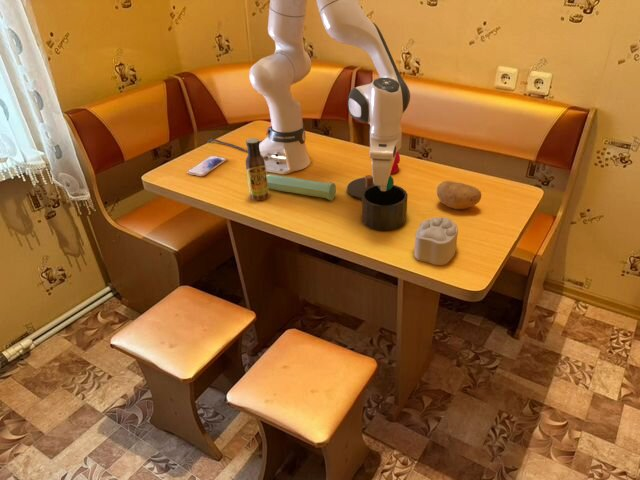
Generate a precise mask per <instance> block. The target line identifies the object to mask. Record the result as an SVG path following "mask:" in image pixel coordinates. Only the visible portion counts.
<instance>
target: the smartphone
mask: <svg viewBox="0 0 640 480" xmlns="http://www.w3.org/2000/svg"><path fill="white" fill-rule="evenodd" d="M226 161H227V158H226V157H222V156H217V155H214V154H213V155H210V156H208V157H207V158H205V159H204V160H202V161H200V163H198V164H196V165H194V166H193V167H192V168H190V169H189V170H187V174H188V175H191V176H197V177H205V176H206V175H208V174H209V173H210V172H212V171H214V170H215V169H216V168H218V167H219V166H220V165H222V164H223V163H225V162H226Z"/></svg>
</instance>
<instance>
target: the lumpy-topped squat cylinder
mask: <svg viewBox="0 0 640 480" xmlns="http://www.w3.org/2000/svg"><path fill="white" fill-rule="evenodd" d="M458 235H459V229H458V226H457V224H456V223H455V222H454V221H453V220H452V219H450V218H448V217H442V216H441V217H440V216H439V217H433V218H429V219H427V220H423V221H422V222H421V223H420V225H419V226H418V228H417V230H416V232H415V240H414V257H415V259H416V260H418V261H420V262H421V261H422V262H425V263H428V264H429V263H430V264H432V265H435V266H444V265H447V264H448V263H449V262H450V261H451V260H452V259H453V258H454V256H455V254H456V250H457V242H458Z"/></svg>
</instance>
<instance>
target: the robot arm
mask: <svg viewBox="0 0 640 480" xmlns="http://www.w3.org/2000/svg"><path fill="white" fill-rule="evenodd" d="M315 2H316V5H317V8H318V9H317V10H318V12H319V15H320V20H321V22H322V25H323V28H324V30H325V32H326V33H327V35H328V36H329V37H330V38H331V39H333V40H335V41H336V42H338V43H341V44H343V45H348V46H352V47H355V48H359V49H361V50H362V51H365V52H366V54H367V55H368V56H369V57H370V59H371V61H372V64H373V66H374V68H375V70H376V72H377V75H378V77H377V78H375V79H374V80H372V82H370V83H366V84H362V85H359V86H356V87H352V89H351V90H350V92H349V94H348V97H347V110H348V113H349V115H350V116H351V117H352V118H353V119H354V120H355V121H357V122H358V123H361V124H368V125H369V158H370V159H371V171H372V176H373V182H374V185H376V186H380V190H381V191H386V190H387V183H388V180H389V176H391V174H390V173H391V170H392V166H393V163H394V160H395V156H396V153H397V151H398V152H399V150H400V149H401V148H402V143H403V141H402V139H403V127H402V118H403V114H404V113H405V111H406V110H407V108H408V107H409V104H410V101H411V92H410V89H409V86H408V84H407V83H406V81H405V80H404V79H403V77H402V75H401V73H400V71H399V69H398V67H397V65H396V63H395V60H394V57H393V56H392V54H391V51H390V49H389V47H388V45H387V42H386V40H385V38H384V36H383V34H382V31H381V30H380V28H379V27H378V25H377V24H376V23H375V22H373V21H372V20H370V19H369V17H368V16H367V15H366V13H365V12H364V9H362V6H361V4H360V1H359V0H315ZM307 5H308V0H269V8H268V20H267V33H268V35H269V37H270V38H271V40H273V41H274V45H275V50H274V52H273V53H272V54H270V55H267V56H264V57H262V58H260V59H259V60H258V61H256V62H255V63H254V64H253V65H251V67H250V69H249V72H248V76H249V82H250V85H251V86H252V88H253V89H254V90H255V91H256V92H257V93H258V94H260V95H262V96H263V98H264V100H265V102H266V104H267V107H268V111H269V117H270V123H269V126H268V127H267V130H266V131H265V135H266V137H265V138H264V139H262V140H259V143H260V144H259V149H260V154H261V155H262V157H263V158H264V161H265V166H266V173H273V174H279V175H289V174H290V173H293V172H297V171H298V172H299V171H301V170H303V169H306V168H307V167H309V166H310V165H311V162H312V161H311V158H310V156H309V152H308V149H307V144H306V139H307V137H306V136H307V135H306V130H305V124H304V123H303V111H302V110H303V109H302V104H301V102H300V101H299V100H298V99H296V98H295V97H293V95H292V91H291V86H292V85H294V84H295V85H296V84H297V83H300V82H301V81H302V80H304V79H305V78H306V77H307V76H308V75H309V74H310V72H311V70H312V61H311V58H310V55H309V53H308V52H307V51H306V50H305V45H304V32H305V24H306V23H305V22H306V14H307ZM211 142H216V143H219V144H221V145H225V146H229V147H231V148H235V149H238V150H241V151H242V152H245V153H247V154H248V150H245V149H244V148H242V147H241V146H237V145H235V144H232V143H229V142H225V141H221V140H218V139H215V138H211V139H208V141H207V143H208V144H209V143H211Z"/></svg>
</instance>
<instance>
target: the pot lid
mask: <svg viewBox="0 0 640 480" xmlns="http://www.w3.org/2000/svg"><path fill="white" fill-rule="evenodd" d="M373 185H374V182H373V175H371V174H367V175H365V177H359V178H356V179H353V180H352V181H350V182H349V183H348V184H347V187H346V191H347V193H348V194H349V195H350V196H351V197H354V198H355V199H358V200H362V193H363V191H364V190H365V189H366V188H368V187H370V186H373Z"/></svg>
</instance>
